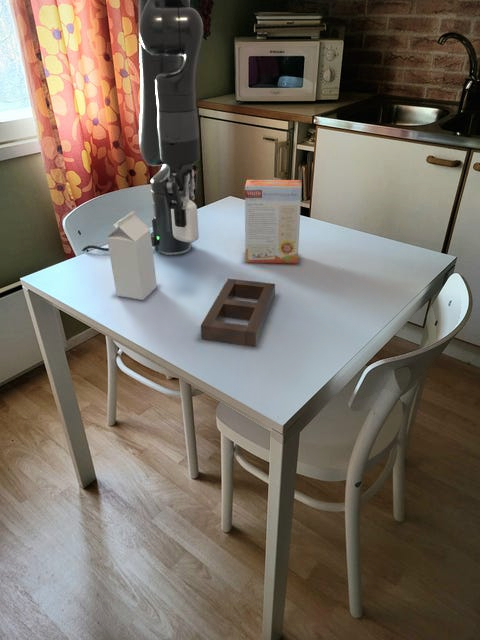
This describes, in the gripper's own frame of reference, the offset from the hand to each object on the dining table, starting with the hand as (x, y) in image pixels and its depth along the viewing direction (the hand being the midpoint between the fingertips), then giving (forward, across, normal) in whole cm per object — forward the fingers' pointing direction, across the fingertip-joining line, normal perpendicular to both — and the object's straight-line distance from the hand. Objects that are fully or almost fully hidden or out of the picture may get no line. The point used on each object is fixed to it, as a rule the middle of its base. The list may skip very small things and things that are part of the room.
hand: (184, 221), depth 99 cm
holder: (+20, +2, +12) cm, 24 cm away
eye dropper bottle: (+4, 0, 0) cm, 4 cm away
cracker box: (+21, -28, +14) cm, 37 cm away
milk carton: (+21, -3, -15) cm, 26 cm away
